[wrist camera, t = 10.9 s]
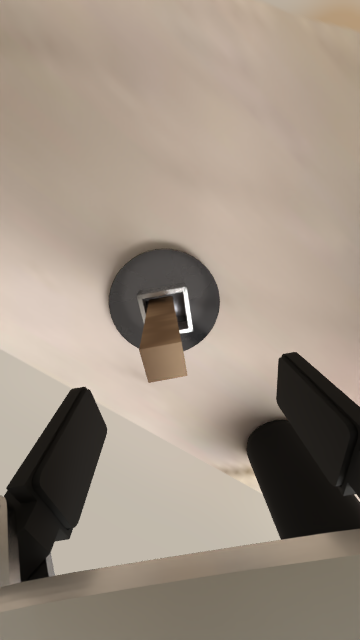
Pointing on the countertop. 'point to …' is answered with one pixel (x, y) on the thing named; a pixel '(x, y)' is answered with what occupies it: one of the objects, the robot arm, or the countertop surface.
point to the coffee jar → (297, 485)
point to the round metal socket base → (165, 294)
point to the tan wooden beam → (162, 342)
